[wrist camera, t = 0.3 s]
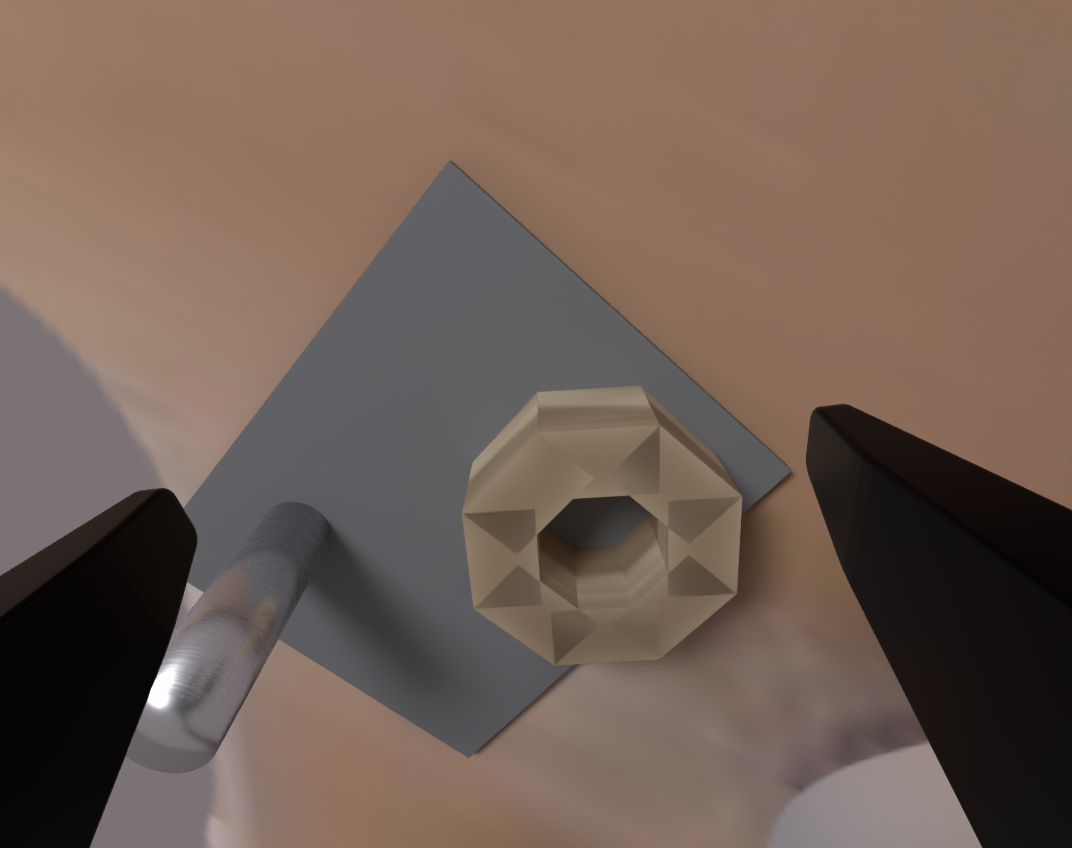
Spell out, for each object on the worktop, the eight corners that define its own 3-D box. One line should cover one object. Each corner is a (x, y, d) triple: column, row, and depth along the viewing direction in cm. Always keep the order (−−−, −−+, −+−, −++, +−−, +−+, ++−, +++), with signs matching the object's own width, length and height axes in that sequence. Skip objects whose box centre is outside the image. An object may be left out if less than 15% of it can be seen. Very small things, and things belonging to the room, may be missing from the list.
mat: (470, 747, 31) (468, 757, 30) (154, 548, 27) (146, 556, 26) (786, 464, 26) (791, 470, 25) (451, 160, 21) (449, 160, 21)
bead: (598, 631, 28) (607, 702, 24) (429, 509, 26) (412, 566, 22) (757, 488, 25) (796, 543, 22) (586, 338, 23) (596, 370, 19)
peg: (306, 574, 27) (184, 788, 17) (248, 535, 26) (89, 737, 17) (345, 529, 26) (239, 729, 17) (286, 488, 25) (142, 673, 16)
